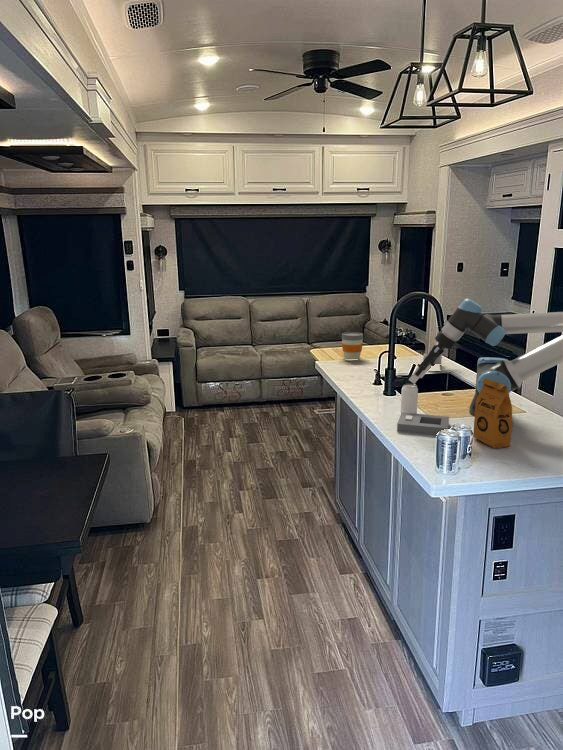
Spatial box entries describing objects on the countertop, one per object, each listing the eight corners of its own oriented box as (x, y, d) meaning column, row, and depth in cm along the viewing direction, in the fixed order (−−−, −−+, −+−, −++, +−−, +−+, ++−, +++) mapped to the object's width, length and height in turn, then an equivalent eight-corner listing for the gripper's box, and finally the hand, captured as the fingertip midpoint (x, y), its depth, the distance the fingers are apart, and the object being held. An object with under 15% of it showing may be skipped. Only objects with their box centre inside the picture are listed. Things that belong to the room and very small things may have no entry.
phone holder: (422, 364, 312) (424, 332, 308) (441, 365, 309) (443, 333, 305) (421, 371, 296) (423, 338, 291) (441, 372, 293) (443, 338, 289)
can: (416, 416, 223) (418, 388, 220) (400, 416, 224) (401, 387, 221) (416, 412, 229) (417, 383, 226) (400, 411, 230) (401, 383, 227)
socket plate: (448, 423, 214) (449, 415, 213) (447, 436, 201) (448, 426, 201) (401, 419, 220) (401, 410, 219) (397, 431, 207) (397, 422, 206)
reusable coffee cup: (339, 357, 331) (339, 332, 328) (359, 356, 333) (360, 331, 329) (343, 361, 319) (344, 336, 315) (365, 361, 320) (365, 335, 317)
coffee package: (490, 450, 188) (495, 387, 183) (468, 438, 200) (473, 378, 194) (515, 447, 191) (521, 385, 185) (492, 435, 202) (498, 376, 197)
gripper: (446, 327, 223) (414, 368, 231) (434, 332, 201) (400, 378, 209) (461, 338, 221) (429, 379, 229) (452, 345, 199) (416, 390, 207)
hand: (415, 379), depth 219 cm, fingers open, 13 cm apart
